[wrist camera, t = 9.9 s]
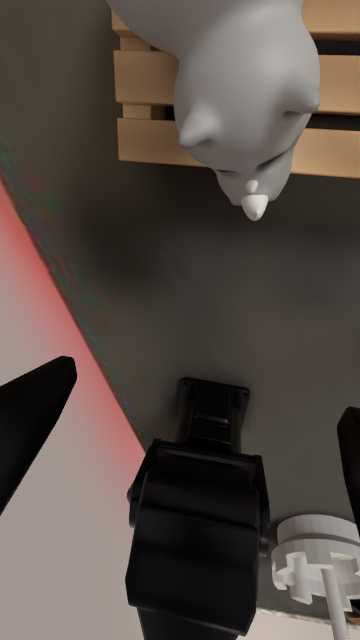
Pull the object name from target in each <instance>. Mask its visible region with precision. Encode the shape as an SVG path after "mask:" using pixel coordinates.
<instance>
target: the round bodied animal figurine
mask: <svg viewBox="0 0 360 640" xmlns="http://www.w3.org/2000/svg"><path fill="white" fill-rule="evenodd" d="M105 1H106V2H107V4H108V5H109V6H110V8H111V9H112V10H113V11H114V12H115V14H116V15H117V16H118V17H119V18H120V19H121V21H122V22H123V23H124V24H125V25H126V26H127V27H128V28H129V29H130V30H131V31H133V32H134V33H135V34H136V35H137V36H139V37H140V38H141V39H143V40H144V41H145V42H147V43H148V44H150V45H152V46H153V47H155V48H158V49H160V50H162V51H164V52H166V53H169V54H171V55H172V56H175V57H177V58H178V59H179V69H178V73H177V77H176V82H175V88H174V114H175V121H176V126H177V130H178V133H179V135H178V143H179V146H180V147H181V148H184V149H186V150H187V152H188V153H189V155H190V156H191V157H192V158H194V159H195V160H196V161H198V162H200V163H202V164H204V165H205V166H208V167H210V168H211V169H213V170H214V171H215V172H216V174H217V178H218V182H219V185H220V187H221V188H222V190H223V191H224V193H225V194H226V195H227V196H228V198H229V199H230V201H231V203H232V204H233V205H236V206H240V205H242V207H243V210H244V212H245V213H246V215H247V216H248V217H249V218H250V219H251V220H253V221H257V220H259V219H260V218H261V217H262V215H263V213H264V211H265V208H266V206H267V202H269V201H273V200H275V199H276V198H277V197H278V196H279V194H280V193H281V191H282V189H283V187H284V186H285V184H286V182H287V180H288V177H289V174H290V171H291V167H292V159H293V152H294V149H295V146H296V144H297V142H298V140H299V138H300V136H301V134H302V132H303V130H304V128H305V127H306V125H307V123H308V121H309V119H310V117H311V114H312V113H314V112H316V111H317V110H318V109H319V107H320V104H321V97H320V93H319V85H320V64H319V57H318V52H317V48H316V45H315V43H314V41H313V39H312V37H311V35H310V33H309V32H308V30H307V28H306V26H305V24H304V22H303V20H302V16H301V12H302V5H303V1H304V0H105Z"/></svg>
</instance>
